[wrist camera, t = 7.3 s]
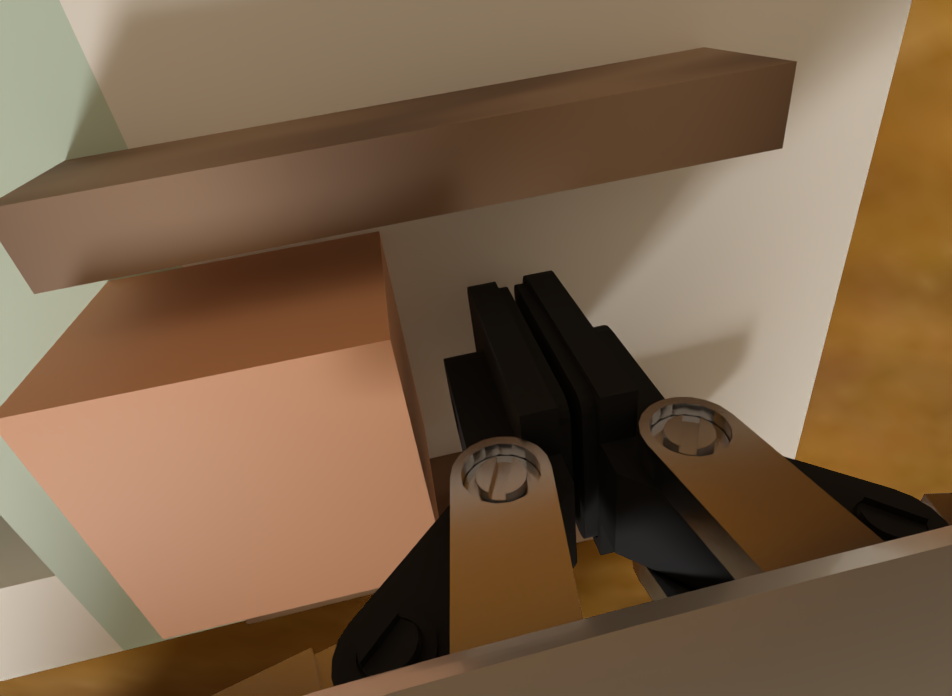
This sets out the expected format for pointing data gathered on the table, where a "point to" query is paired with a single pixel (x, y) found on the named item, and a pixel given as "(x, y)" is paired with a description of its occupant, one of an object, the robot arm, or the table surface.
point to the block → (235, 433)
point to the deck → (459, 233)
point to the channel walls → (390, 171)
